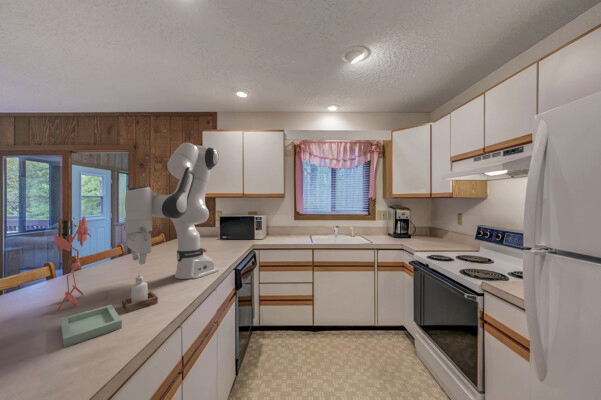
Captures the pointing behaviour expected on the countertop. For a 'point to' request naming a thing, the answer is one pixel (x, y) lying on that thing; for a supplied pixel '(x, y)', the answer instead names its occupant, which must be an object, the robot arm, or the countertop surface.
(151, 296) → the walnut rectangular frame
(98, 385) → the countertop surface
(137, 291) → the eye dropper bottle
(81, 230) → the red leafy plant shape
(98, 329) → the tray
